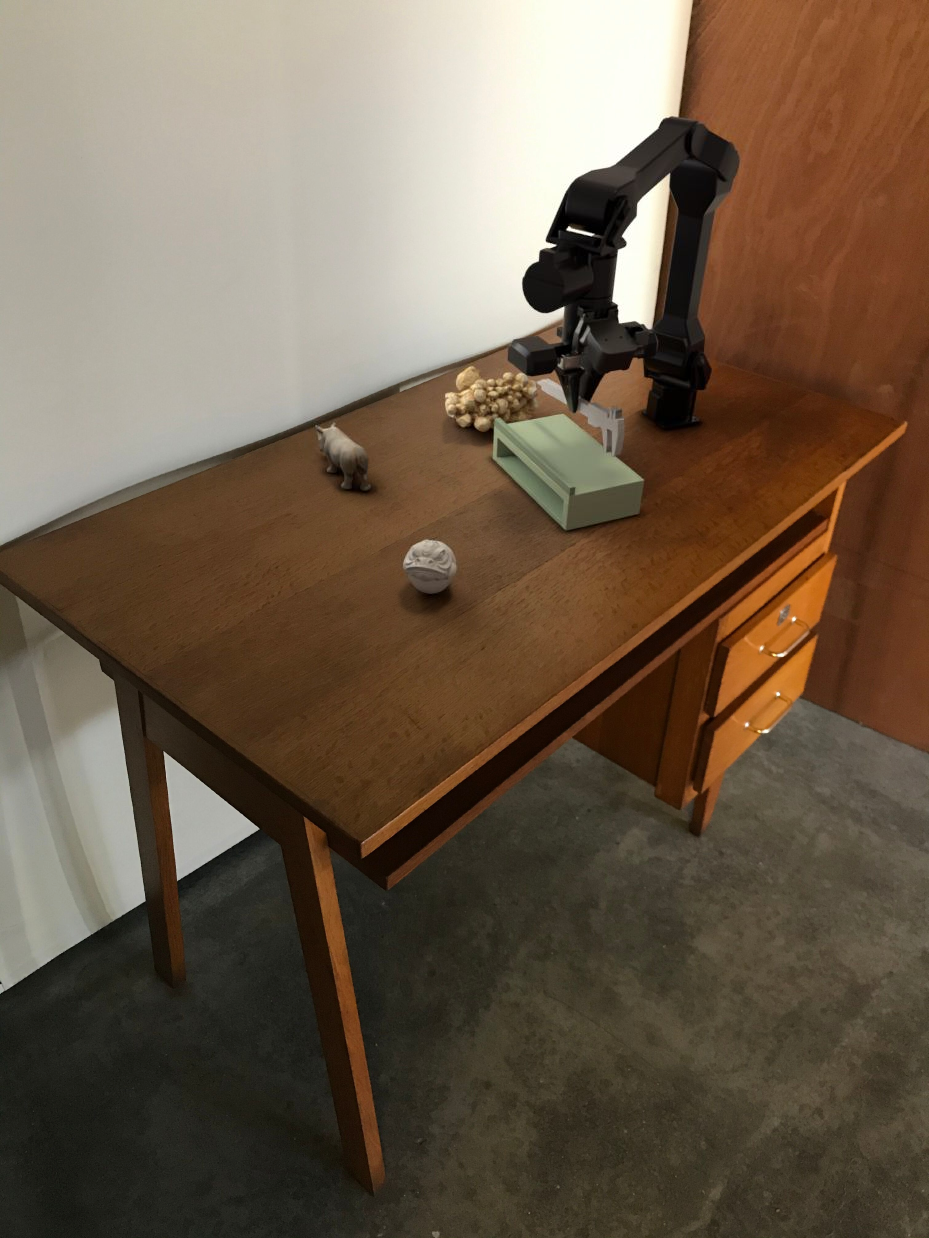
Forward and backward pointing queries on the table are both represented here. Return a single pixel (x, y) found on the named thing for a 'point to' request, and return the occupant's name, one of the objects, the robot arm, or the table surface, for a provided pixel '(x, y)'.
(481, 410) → the mineral formation
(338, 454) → the rhino figurine
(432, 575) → the frog figurine
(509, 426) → the desk shelf
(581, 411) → the caliper
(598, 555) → the table surface
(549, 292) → the robot arm
